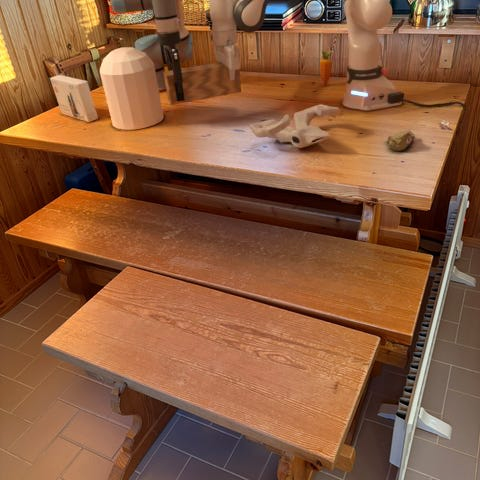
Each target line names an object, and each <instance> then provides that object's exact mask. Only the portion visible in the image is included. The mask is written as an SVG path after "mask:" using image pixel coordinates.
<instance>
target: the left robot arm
mask: <svg viewBox="0 0 480 480" xmlns="http://www.w3.org/2000/svg"><path fill="white" fill-rule="evenodd" d="M110 4H111V8H112V10H113V12H114V13H115V14H128V13H134V12H135V13H136V12H144V11H153V13H154V22H155V28H156V32H158V34H157V33H156V34H149V35H145V36H142V37H140V38H138V39H137V40H135V42H134V48H135V49H137V50H140V51H142V52H144V53H146V54H147V56H148V57H149V58H150V59H151V60H152V61H153V63H154V67H155V73H156V78H157V84H158V89H159V93H160V92H165V91H167V90H166V85H165V79H164V73H163V72H165V71H166V69H165V65H166V67H167V71H171V70H172V71H173V75H174V80H175V82H173V84H175V91H176V97H177V102H179V101H185V98H184V92H183V85H182V82H183V77H182V71H181V69H182V66H181V63H182V64H184V63H189V62H191V61H193V59H194V58H193V57H194V44H193V43H194V42H193V41H194V40H193V39H194V37H193V35H192V34H190V33H189V30H188V29H187V28H186V27H185V21H184V20H185V19H184V15H183V7H182V0H110Z"/></svg>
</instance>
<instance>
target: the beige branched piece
mask: <svg viewBox="0 0 480 480" xmlns="http://www.w3.org/2000/svg"><path fill="white" fill-rule="evenodd" d="M340 111H341V110H340V108H339V107H337V106H329V105H325V104H317V105H314V106H311V107H308V108H306V109H303V110H299V111H297V112H294V114H293V123H294V126H295V128H294V129H293V128H290V126H291V117H290V115H289V114H285V115H284V116H283V118H282V119H280V121H278V120H276V119H269V120H264V121H259V122H254V123H251V124H250V131H251V133H253V135H254V136H256V137H257V138H269V139H276V140H277V141H279V142H280V143H291V144H292V146H293V147H295V148H297V149H303V148H307V147H310V146H314V145H316V144H319V143H321V142H323V141H326V140H329V138H330V134H329V132H328V131H326V130H322V129H321V128H320V127H318V126H317V125H314V124H311V122H312V120H313V119H314V118H315V117H316V118H325V117H331V118H335V119H336V118H337V117H338V115H339V113H340Z"/></svg>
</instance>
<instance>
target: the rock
mask: <svg viewBox="0 0 480 480" xmlns="http://www.w3.org/2000/svg"><path fill="white" fill-rule="evenodd" d="M415 139H416V135H415V134H414V132H412V131H411V130H408V129H407V130H404V131H398V132H396V133H394V134H393V135H392V134H391V135H389V136H388V137H387V143H388V145H387V146H388V147H389V149H391V150H392V151H395V152H404V151H406V150H407V148H409V145H410V144H411V143H412V142H413V141H414V140H415Z"/></svg>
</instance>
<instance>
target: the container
mask: <svg viewBox="0 0 480 480" xmlns="http://www.w3.org/2000/svg"><path fill="white" fill-rule="evenodd" d="M99 76H100V79H101V84H102V87H103V91H104V95H105V100H106V103H107V107H108V111H109V115H110V119H111V123H112V124H111V125H112V126H113V127H114V128H116V129H118V130H124V131H128V130H130V131H131V130H139V129H140V130H141V129H146V128H149V127H152V126H155V125H157V124H159V123H160V122H162V120H163V119H164V111H163V107H162V106H163V105H162V100H161V95H160V92H159V89H158V84H157V78H156V73H155V67H154V63H153V61H152V60H151V59H150V58H149V57H148V56H147V54H146V53H144V52H142V51H140V50H137V49H135V47H134V46H133V47H131V46H130V47H129V46H128V47H127V46H125V47H119V48H115V49H113V50H111V51H110V52H109V53H108V54H107V55H106V56H104V58H103V59H102V62H101V65H100V67H99Z"/></svg>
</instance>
